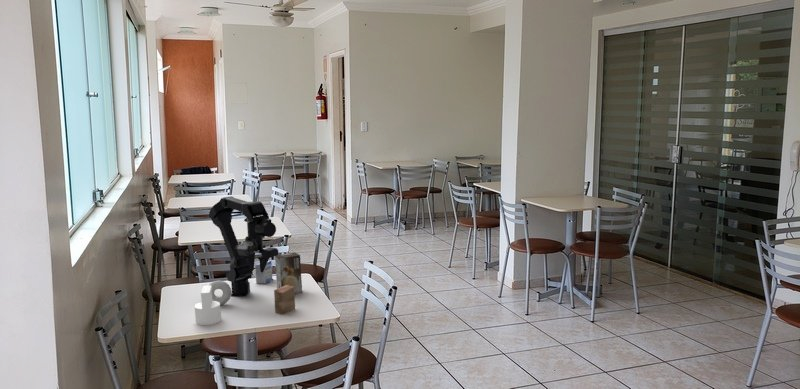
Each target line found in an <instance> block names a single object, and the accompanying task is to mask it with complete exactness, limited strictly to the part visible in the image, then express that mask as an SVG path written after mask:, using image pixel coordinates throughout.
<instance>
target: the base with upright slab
mask: <svg viewBox="0 0 800 389" xmlns="http://www.w3.org/2000/svg"><path fill="white" fill-rule="evenodd" d="M208 285H209V284H208ZM208 285H203V286H202V289H201V292H200V296H201V297H200V298H201V299H200V300H201V301H200V302H197V303H196V304H195V305H194V318H195V323H196V325H200V326H210V325H214V324H217V323H219V322H220V321H221V320H222V314H221V305H220V303H219V302H217V301H213V299H212V285H209V286H208Z"/></svg>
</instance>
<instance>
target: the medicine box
mask: <svg viewBox="0 0 800 389" xmlns="http://www.w3.org/2000/svg"><path fill="white" fill-rule="evenodd" d="M272 266H273V264H272V260H270V259H269V260H268V262H267V264H266V267H265V269H264V271H263V272H262V273H261V271H260V261H259V262H258V263H256V264H254V268H255V269H254V270H255V282H256V284H259V285H261V284H262V285H266V284H267V283H268V282H270V281H271V280H273V270H272V269H273V268H272Z"/></svg>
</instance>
